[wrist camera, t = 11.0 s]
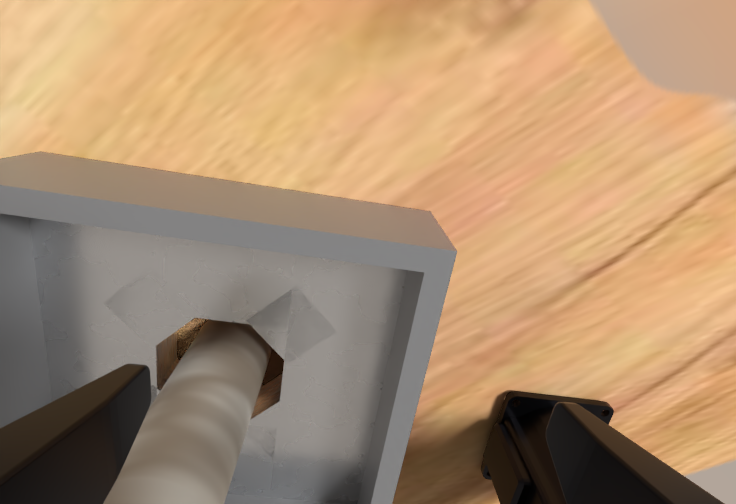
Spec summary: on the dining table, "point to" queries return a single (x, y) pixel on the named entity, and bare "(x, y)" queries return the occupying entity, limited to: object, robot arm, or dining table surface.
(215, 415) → the peg
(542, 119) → the dining table surface
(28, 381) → the open box
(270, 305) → the bore plate
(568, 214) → the dining table surface
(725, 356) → the dining table surface
